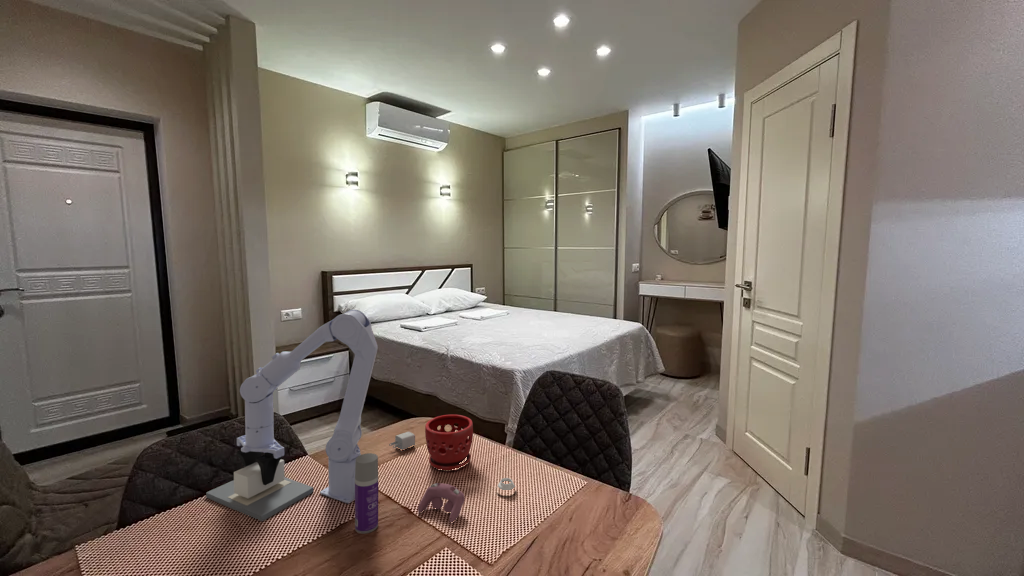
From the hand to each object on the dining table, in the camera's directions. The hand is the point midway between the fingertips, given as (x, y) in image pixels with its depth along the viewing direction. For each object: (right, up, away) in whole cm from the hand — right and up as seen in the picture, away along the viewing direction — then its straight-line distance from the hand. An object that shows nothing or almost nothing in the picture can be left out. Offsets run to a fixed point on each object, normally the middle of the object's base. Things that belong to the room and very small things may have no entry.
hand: (260, 480), depth 99 cm
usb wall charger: (+27, -3, +26) cm, 37 cm away
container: (+29, -5, -11) cm, 31 cm away
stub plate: (0, -4, 0) cm, 4 cm away
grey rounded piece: (+58, -5, +4) cm, 59 cm away
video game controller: (+44, -5, -5) cm, 45 cm away
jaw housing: (0, -2, 0) cm, 2 cm away
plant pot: (+42, -4, +17) cm, 46 cm away
